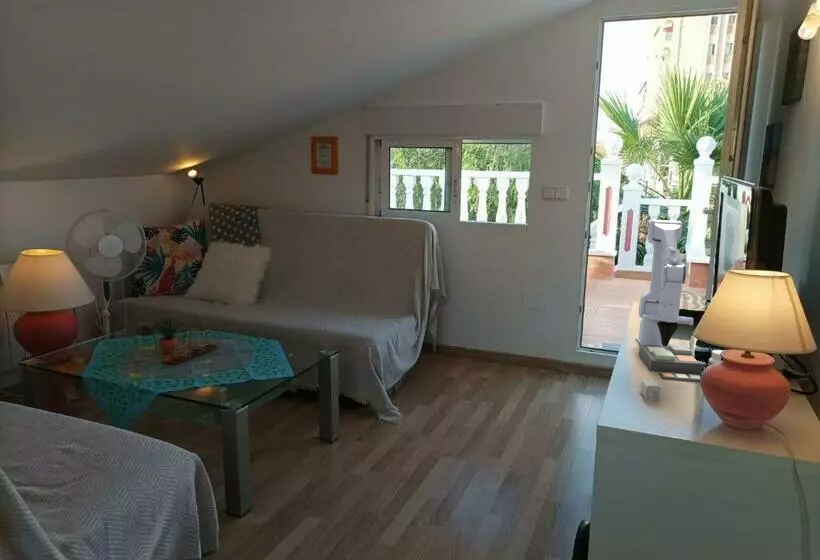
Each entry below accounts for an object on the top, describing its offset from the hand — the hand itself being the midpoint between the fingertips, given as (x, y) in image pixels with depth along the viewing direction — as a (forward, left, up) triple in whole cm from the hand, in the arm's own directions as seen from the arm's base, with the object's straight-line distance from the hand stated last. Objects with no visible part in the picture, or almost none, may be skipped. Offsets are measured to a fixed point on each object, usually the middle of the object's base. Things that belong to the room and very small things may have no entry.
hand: (664, 345), depth 192 cm
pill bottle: (+11, +13, -8) cm, 19 cm away
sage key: (0, 0, -6) cm, 6 cm away
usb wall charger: (+26, -9, -8) cm, 29 cm away
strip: (+8, +4, -7) cm, 12 cm away
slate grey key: (-7, +7, -6) cm, 11 cm away
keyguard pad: (-4, +4, -7) cm, 9 cm away
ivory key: (-7, 0, -7) cm, 10 cm away
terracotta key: (0, +7, -7) cm, 10 cm away
